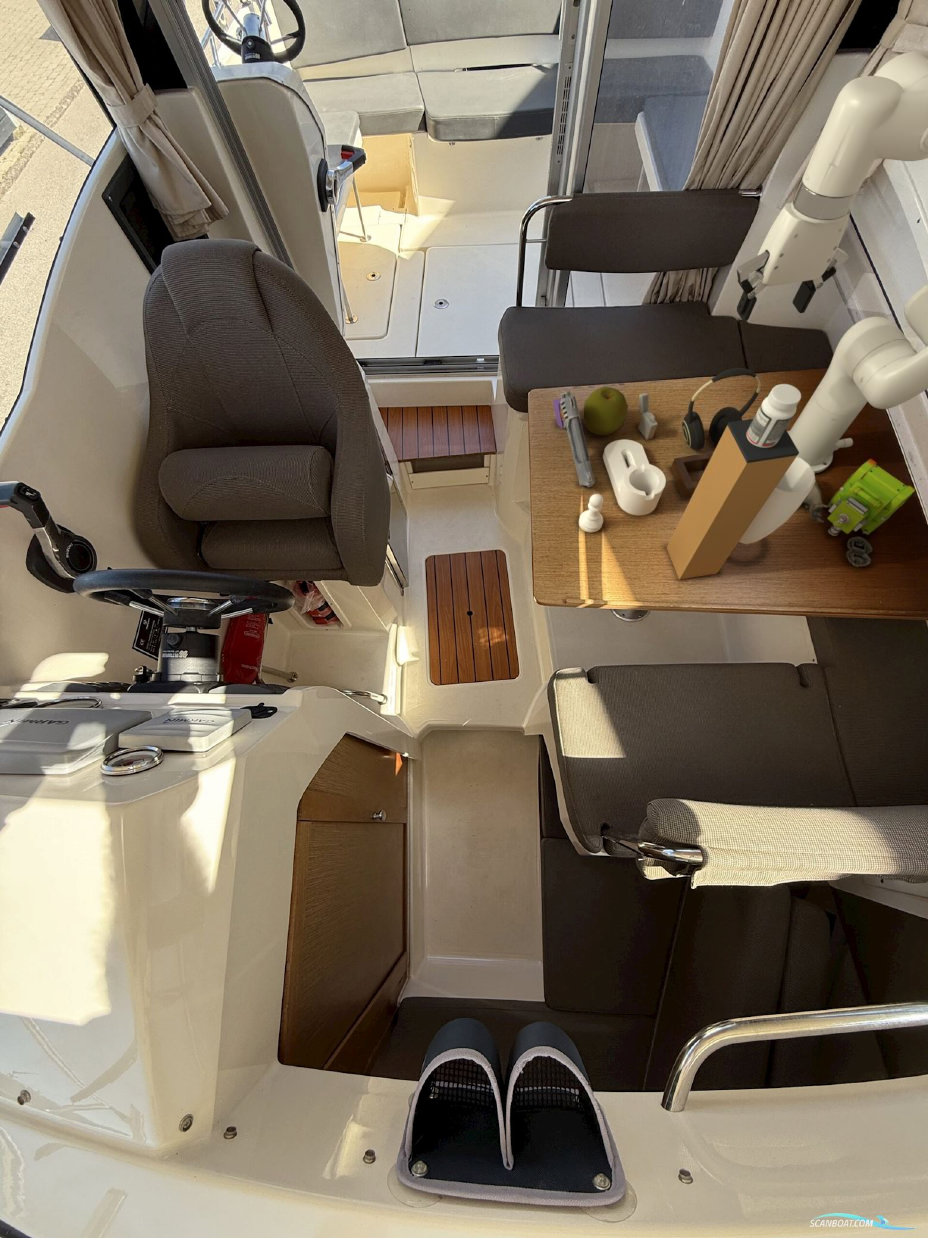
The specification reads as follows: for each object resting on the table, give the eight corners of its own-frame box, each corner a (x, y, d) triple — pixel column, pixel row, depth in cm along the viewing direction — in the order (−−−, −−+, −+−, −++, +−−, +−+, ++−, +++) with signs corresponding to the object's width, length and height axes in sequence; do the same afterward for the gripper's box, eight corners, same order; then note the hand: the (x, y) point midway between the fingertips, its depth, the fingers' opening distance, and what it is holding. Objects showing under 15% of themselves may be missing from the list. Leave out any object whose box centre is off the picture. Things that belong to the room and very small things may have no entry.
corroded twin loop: (841, 564, 116) (844, 561, 115) (845, 535, 120) (848, 532, 119) (867, 572, 115) (871, 569, 114) (871, 543, 119) (874, 540, 118)
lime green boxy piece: (828, 484, 125) (785, 517, 121) (887, 446, 110) (840, 483, 106) (869, 530, 123) (827, 565, 120) (934, 498, 108) (888, 537, 105)
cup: (733, 570, 117) (781, 504, 97) (703, 533, 121) (744, 462, 102) (775, 552, 118) (831, 483, 99) (745, 516, 123) (792, 443, 104)
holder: (707, 463, 130) (712, 452, 127) (721, 492, 126) (727, 482, 123) (669, 468, 129) (674, 457, 126) (682, 499, 125) (687, 488, 122)
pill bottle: (780, 431, 88) (807, 386, 80) (774, 452, 86) (801, 409, 78) (749, 422, 89) (773, 377, 81) (742, 443, 87) (766, 399, 80)
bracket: (662, 512, 124) (671, 492, 118) (623, 517, 124) (629, 498, 118) (636, 444, 133) (643, 422, 127) (600, 449, 133) (605, 427, 127)
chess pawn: (591, 510, 125) (599, 483, 117) (606, 525, 123) (615, 498, 115) (573, 521, 124) (579, 494, 116) (588, 536, 122) (595, 510, 114)
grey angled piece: (653, 437, 134) (662, 411, 127) (646, 439, 134) (655, 413, 126) (637, 417, 137) (646, 390, 130) (631, 419, 137) (639, 392, 130)
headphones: (741, 452, 131) (781, 380, 113) (678, 460, 130) (708, 389, 113) (728, 425, 135) (765, 351, 117) (667, 432, 134) (694, 360, 117)
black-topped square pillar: (703, 541, 120) (777, 414, 89) (717, 573, 117) (799, 452, 86) (666, 547, 120) (728, 422, 89) (679, 579, 116) (748, 460, 85)
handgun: (572, 495, 139) (584, 487, 124) (550, 402, 137) (559, 383, 122) (586, 491, 139) (599, 483, 124) (564, 399, 136) (575, 379, 121)
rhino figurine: (805, 531, 120) (820, 514, 115) (780, 481, 126) (793, 462, 121) (824, 529, 120) (839, 511, 115) (798, 479, 126) (812, 460, 121)
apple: (587, 446, 133) (595, 409, 124) (574, 417, 138) (580, 379, 128) (628, 437, 134) (639, 400, 124) (613, 409, 138) (623, 371, 129)
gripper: (869, 175, 82) (809, 291, 97) (753, 191, 81) (711, 305, 96) (896, 204, 78) (829, 319, 94) (775, 220, 78) (727, 333, 93)
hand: (769, 311), depth 95 cm, fingers open, 9 cm apart
